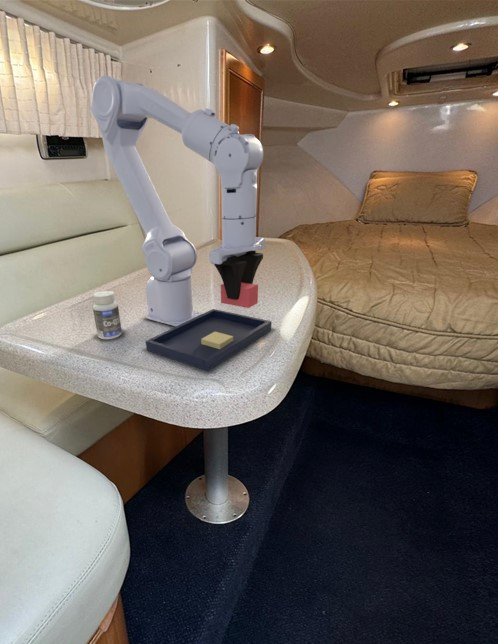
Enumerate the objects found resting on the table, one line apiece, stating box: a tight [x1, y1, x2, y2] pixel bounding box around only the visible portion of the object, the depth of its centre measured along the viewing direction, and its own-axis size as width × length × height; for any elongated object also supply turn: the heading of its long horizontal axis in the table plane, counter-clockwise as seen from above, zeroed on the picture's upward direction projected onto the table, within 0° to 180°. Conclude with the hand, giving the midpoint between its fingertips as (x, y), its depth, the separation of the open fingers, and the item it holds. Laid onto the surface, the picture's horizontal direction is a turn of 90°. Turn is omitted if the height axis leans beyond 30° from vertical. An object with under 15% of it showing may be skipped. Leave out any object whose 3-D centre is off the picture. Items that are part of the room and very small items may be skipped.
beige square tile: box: [201, 332, 233, 349], centre depth 63 cm, size 4×4×1 cm
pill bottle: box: [92, 290, 123, 340], centre depth 69 cm, size 5×5×8 cm
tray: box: [145, 308, 272, 372], centre depth 66 cm, size 14×20×2 cm
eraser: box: [220, 282, 259, 309], centre depth 66 cm, size 6×3×4 cm, turn 49°
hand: (238, 295), depth 67 cm, fingers closed on eraser, 3 cm apart
